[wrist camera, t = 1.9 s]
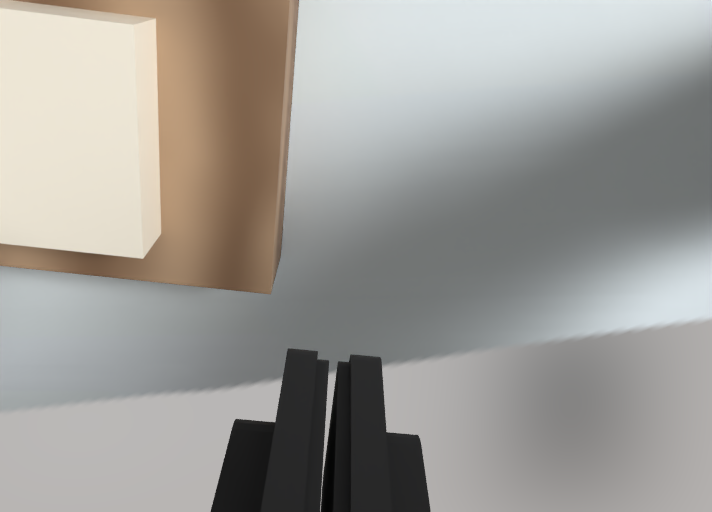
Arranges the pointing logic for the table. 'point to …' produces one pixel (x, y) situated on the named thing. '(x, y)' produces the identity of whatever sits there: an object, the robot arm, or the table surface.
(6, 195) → the cream rectangular block
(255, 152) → the brown flat block
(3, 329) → the table surface
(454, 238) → the table surface
